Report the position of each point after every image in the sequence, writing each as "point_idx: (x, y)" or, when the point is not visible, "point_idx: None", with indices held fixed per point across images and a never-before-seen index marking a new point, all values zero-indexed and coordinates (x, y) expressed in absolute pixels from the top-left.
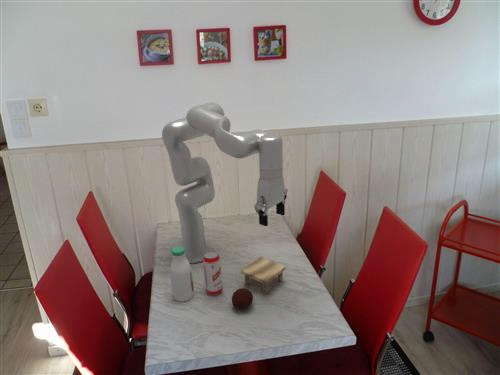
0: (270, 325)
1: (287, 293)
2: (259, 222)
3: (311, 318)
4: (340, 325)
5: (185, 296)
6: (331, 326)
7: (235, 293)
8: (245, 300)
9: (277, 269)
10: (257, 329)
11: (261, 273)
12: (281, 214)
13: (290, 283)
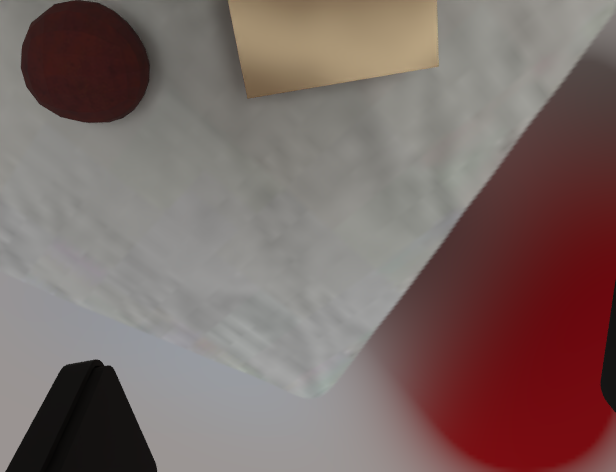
0: (137, 233)
1: (336, 136)
2: (59, 385)
3: (286, 300)
4: (328, 373)
5: None
6: (304, 360)
7: (32, 53)
8: (72, 118)
9: (381, 54)
10: (79, 217)
11: (282, 10)
12: (610, 371)
13: (407, 91)
